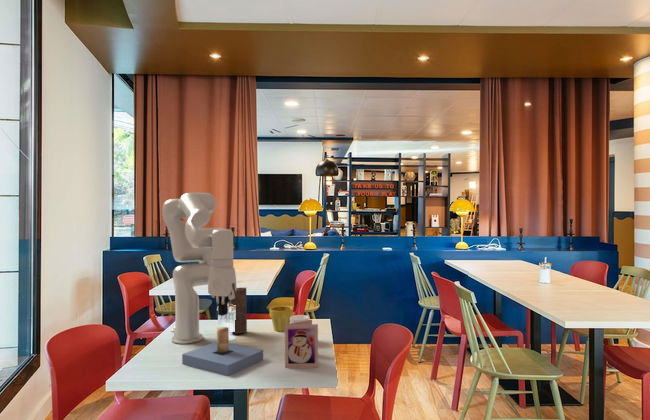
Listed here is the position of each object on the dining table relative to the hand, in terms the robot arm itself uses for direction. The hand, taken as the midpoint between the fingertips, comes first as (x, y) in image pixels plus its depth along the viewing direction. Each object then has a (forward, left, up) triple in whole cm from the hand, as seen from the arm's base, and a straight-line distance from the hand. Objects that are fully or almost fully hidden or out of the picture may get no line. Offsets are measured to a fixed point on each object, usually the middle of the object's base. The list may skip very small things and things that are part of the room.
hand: (222, 314), depth 160 cm
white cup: (+10, +34, -17) cm, 39 cm away
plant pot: (-7, +44, -17) cm, 48 cm away
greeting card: (+26, +12, -17) cm, 33 cm away
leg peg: (0, 0, -17) cm, 17 cm away
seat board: (0, 0, -17) cm, 17 cm away
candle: (-20, +30, -17) cm, 40 cm away
